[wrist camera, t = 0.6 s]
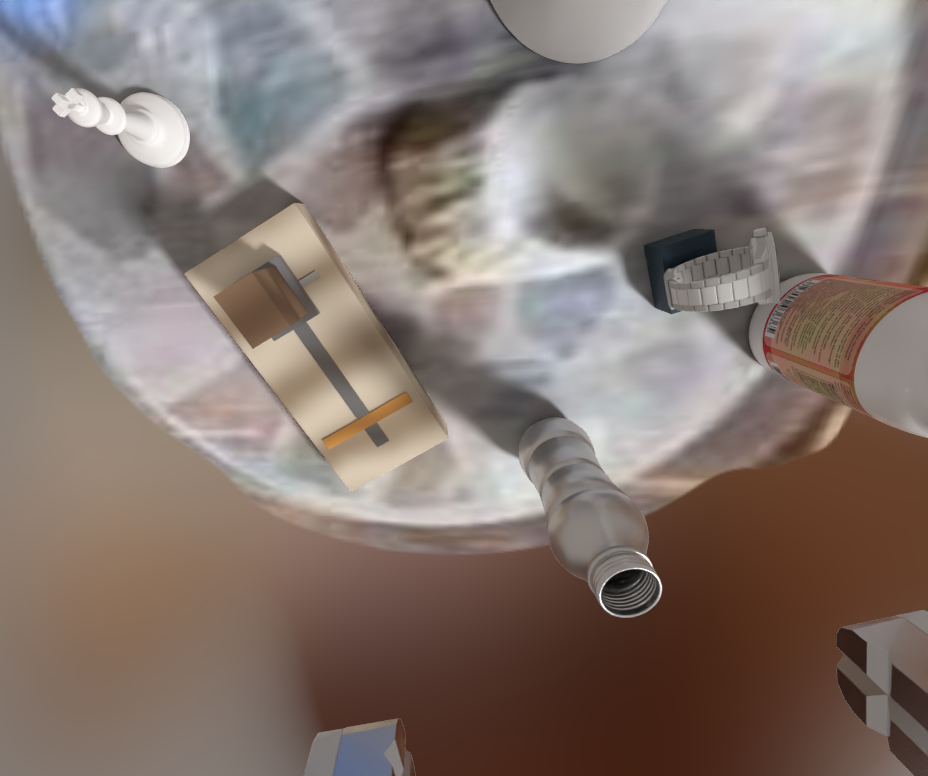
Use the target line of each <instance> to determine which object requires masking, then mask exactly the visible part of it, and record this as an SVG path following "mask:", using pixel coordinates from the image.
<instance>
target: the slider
mask: <svg viewBox="0 0 928 776" xmlns="http://www.w3.org/2000/svg"><path fill="white" fill-rule="evenodd" d="M214 298H215V300H216V301H217V302H218V304H219V305H220V306H221V308H222V309H223V310H224V312H225V313H226V314H227V316H228V317H229V318H230V320H231V321H232V322H233V324H234V325H235V326H236V327H237V329H238V330H239V331H240V333H241V334H242V335H243V337H244V338H245V339H246V341H247V342H248V343H249V345H250V346H251V347H252V349H254V348H255V347H257V346H259V345H260V344H262V343H263V342H265V341H267V340H268V339H270V338H272V339H273V341H276V340H277V339H279V338H281V337H282V336H284V335H286V334H287V333H289V332H291V331H292V330H294V329H296V328H297V327H299V326H300V325H302V324H304V323H305V322H307V321H309V320H310V319H312V318H314V317H315V316H317V315H318V314H320V312H319V310H318V309H317V307H316V306H315V304H314V303H313V301H312V300H311V298H310V297H309V296H308V294H307V293H306V291H305V290H304V288H303V287H302V285H301V284H300V282H299V281H298V280H297V278H296V277H295V275H294V274H293V272H292V271H291V269H290V268H289V266H288V265H287V263H286V262H285V261H284V259H283V258H282V256H281V255H279V256H276V257H275V258H273V259H271V260H270V261H268V262H267V263H265V264H263V265H262V266H260V267H259V268H257V269H255V270H254V271H252V272H251V273H249V274H248V275H246V276H244V277H243V278H241V279H240V280H238V281H236V282H235V283H233V284H232V285H231V286H229V287H228V288H226V289H225V290H223V291H222V292H220V293H218V294H217V295H215V296H214Z"/></svg>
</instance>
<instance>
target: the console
mask: <svg viewBox="0 0 928 776" xmlns="http://www.w3.org/2000/svg"><path fill="white" fill-rule="evenodd" d="M279 255H281V256H282V258H283V259H284V261H285V262H286V263H287V265H288V266H289V268H290V269H291V271H292V272H293V274H294V275H295V277H296V278H297V280H298V281H299V282H300V284H301V285H302V287H303V288H304V290H305V291H306V293H307V294H308V296H309V297H310V298H311V300H312V301H313V303H314V304H315V306H316V307H317V309H318V310H319V312H320V314H318V315H317V316H315V317H314V318H312V319H310V320H309V321H307V322H305V323H304V324H302V325H300V326H299V327H297V328H296V329H294V330H292V331H291V332H289V333H287V334H286V335H284V336H282V337H281V338H279V339H277V340H276V341H273V339H272V338H270V339H268V340H267V341H265V342H263V343H262V344H260V345H259V346H257V347H255V348H254V349H252V347H251V346H250V345H249V343H248V342H247V341H246V339H245V338H244V337H243V335H242V334H241V333H240V331H239V330H238V329H237V327H236V326H235V325H234V324H233V322H232V321H231V320H230V318H229V317H228V316H227V314H226V313H225V312H224V310H223V309H222V308H221V306H220V305H219V304H218V302H217V301H216V300H215V298H214V296H215V295H217V294H218V293H220V292H222V291H223V290H225V289H226V288H228V287H229V286H231V285H232V284H233V283H235V282H236V281H238V280H240V279H241V278H243V277H244V276H246V275H248V274H249V273H251V272H252V271H254V270H255V269H257V268H259V267H260V266H262V265H263V264H265V263H267V262H268V261H270V260H271V259H273V258H275V257H276V256H279ZM184 275H185V276H186V277H187V278H188V280H189V281H190V282H191V284H192V285H193V286H194V288H195V289H196V290H197V291H198V293H199V294H200V295H201V297H202V298H203V299H204V301H205V302H206V303H207V305H208V306H209V307H210V308H211V310H212V311H213V312H214V314H215V315H216V316H217V318H218V319H219V320H220V322H221V323H222V324H223V325H224V327H225V328H226V329H227V331H228V332H229V333H230V335H231V336H232V337H233V339H234V340H235V341H236V342H237V344H238V345H239V346H240V348H241V349H242V350H243V352H244V353H245V354H246V355H247V357H248V358H249V359H250V361H251V362H252V363H253V365H254V366H255V367H256V369H257V370H258V371H259V372H260V374H261V375H262V376H263V378H264V379H265V380H266V382H267V383H268V384H269V386H270V387H271V388H272V389H273V391H274V392H275V393H276V395H277V396H278V397H279V399H280V400H281V401H282V403H283V404H284V405H285V406H286V408H287V409H288V410H289V412H290V413H291V414H292V416H293V417H294V418H295V419H296V421H297V422H298V423H299V425H300V426H301V427H302V429H303V430H304V431H305V433H306V434H307V435H308V436H309V438H310V439H311V440H312V442H313V443H314V444H315V446H316V447H317V448H318V450H319V451H320V452H321V453H322V455H323V456H324V457H325V459H326V460H327V461H328V463H329V464H330V465H331V466H332V468H333V469H334V470H335V472H336V473H337V474H338V476H339V477H340V478H341V480H342V481H343V482H344V483H345V485H346V486H347V487H348V489H349V490H350V491H351V492H353V491H354V490H356V489H358V488H360V487H362V486H363V485H365V484H367V483H369V482H371V481H372V480H374V479H376V478H378V477H380V476H381V475H383V474H385V473H387V472H389V471H390V470H392V469H394V468H396V467H398V466H399V465H401V464H403V463H405V462H407V461H408V460H410V459H412V458H414V457H416V456H417V455H419V454H421V453H423V452H425V451H426V450H428V449H430V448H432V447H434V446H435V445H437V444H439V443H441V442H443V441H444V440H446V439H448V430H447V424H446V422H445V421H444V419H443V418H442V416H441V415H440V413H439V412H438V410H437V408H436V407H435V405H434V404H433V402H432V401H431V399H430V398H429V396H428V394H427V393H426V391H425V390H424V388H423V387H422V385H421V384H420V382H419V381H418V379H417V377H416V376H415V374H414V373H413V371H412V370H411V368H410V367H409V365H408V364H407V362H406V360H405V359H404V357H403V356H402V354H401V353H400V351H399V350H398V348H397V346H396V345H395V343H394V342H393V340H392V339H391V337H390V336H389V334H388V333H387V331H386V329H385V328H384V326H383V325H382V323H381V322H380V320H379V319H378V317H377V315H376V314H375V312H374V311H373V309H372V308H371V306H370V305H369V303H368V302H367V300H366V298H365V297H364V295H363V294H362V292H361V291H360V289H359V288H358V286H357V284H356V283H355V281H354V280H353V278H352V277H351V275H350V274H349V272H348V271H347V269H346V267H345V266H344V264H343V263H342V261H341V260H340V258H339V257H338V255H337V254H336V252H335V250H334V249H333V247H332V246H331V244H330V243H329V241H328V240H327V238H326V236H325V235H324V233H323V232H322V230H321V229H320V227H319V226H318V224H317V223H316V221H315V219H314V218H313V216H312V215H311V213H310V212H309V210H308V209H307V207H306V205H305V204H300V203H293V204H292V205H290V206H289V207H287V208H286V209H284V210H282V211H281V212H279V213H278V214H276V215H275V216H273V217H271V218H270V219H268V220H267V221H265V222H264V223H262V224H261V225H259V226H257V227H256V228H254V229H253V230H251V231H250V232H248V233H246V234H245V235H243V236H242V237H240V238H239V239H237V240H236V241H234V242H232V243H231V244H229V245H228V246H226V247H225V248H223V249H221V250H220V251H218V252H217V253H215V254H214V255H212V256H211V257H209V258H207V259H206V260H204V261H203V262H201V263H200V264H198V265H197V266H195V267H193V268H192V269H190V270H189V271H187V272H186V273H184Z"/></svg>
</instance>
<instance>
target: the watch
mask: <svg viewBox="0 0 928 776" xmlns="http://www.w3.org/2000/svg"><path fill="white" fill-rule="evenodd" d="M753 235H754V237H753V238H751V239H750V242H749V244H748V247H740V248H734V249H728V250H724V251H720V252H717V248H716V241H715V233H714V230H705V229H693V230H689V231H686V232H683V233H680V234H677V235H674V236H671V237H668V238H665V239H662V240H659V241H656V242H653V243H650V244H647V245H644V249H645V255H646V260H647V266H648V271H649V277H650V282H651V288H652V293H653V299H654V304H655V308H657V309H660V310H662V311H665V312H667V313H670V314H674V313H677V312H680V311H690V312H694V311H695V312H702V311H718V310H724V309H731V308H736V307H739V306H745V305H749V304H752V303H754V302H757V304H759V305H766V304H772V303H775V304H779V302H780V293H781V288H780V273H779V264H778V256H777V250H776V244H775V240H774V237H773V234H772V232H768V233H767V230H766V228H759V229H756V230H754V231H753ZM732 251H733V252H732ZM719 255H720V257H719ZM728 256H729V259H728ZM729 264H730V267H729ZM731 282H732V283H731ZM732 289H733V291H732ZM733 297H734V299H733ZM723 303H724V307H723Z"/></svg>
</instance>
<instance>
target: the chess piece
mask: <svg viewBox="0 0 928 776" xmlns="http://www.w3.org/2000/svg"><path fill="white" fill-rule="evenodd" d="M51 99H52V100H53V101H54V102H55V103H56V105H55V106H54V107H53V108H52V109H53V110H54V111H55V112H56V113H57V114H58V115H59V116H62V117H65V116H66V115H67V114H68V116H69V117H70V118H71V120H72V121H74V122H75V123H76V124H78V125H80V126H83V127H93V126H96V127H97V128H98V129H99V130H100V131H102V132H103V133H105V134H109V135H116V134H118V137H119V139H120V141H121V143H122V145H123V146H124V148H125V149H126V150H127V151H128V152H129V153H130V154H131V155H132V156H133V157H134V158H136V159H137V160H139V161H141V162H143V163H145V164H147V165H149V166H152V167H157V168H166V167H170V166H173V165H175V164H177V163H178V162H180V161H181V160H182V159H183V158H184V156H185V155H186V153H187V151H188V148H189V143H190V133H189V128H188V125H187V122H186V120H185V118H184V116H183V114H182V113H181V111H180V110H179V109H178V108H177V107H176V106H175V105H174V104H173V103H172V102H171V101H169V100H168V99H166V98H164V97H162V96H160V95H157V94H153V93H146V92H140V93H135V94H132V95H130V96H128V97H127V98H125V99H124V100H123V101H122V102H121V104H119V103H118V102H117V101H115V100H114V99H112V98H109V97H99V98H97V97H96V96H95V95H94V94H92V93H91V92H90V91H88V90H86V89H82V88H71V89H70V90H69V91H68V92H67V94H66V95H62V94H59V93H56V94H55V95H54V96H53V97H52V98H51Z"/></svg>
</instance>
